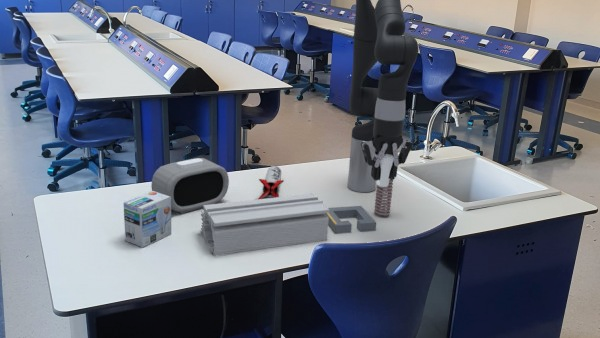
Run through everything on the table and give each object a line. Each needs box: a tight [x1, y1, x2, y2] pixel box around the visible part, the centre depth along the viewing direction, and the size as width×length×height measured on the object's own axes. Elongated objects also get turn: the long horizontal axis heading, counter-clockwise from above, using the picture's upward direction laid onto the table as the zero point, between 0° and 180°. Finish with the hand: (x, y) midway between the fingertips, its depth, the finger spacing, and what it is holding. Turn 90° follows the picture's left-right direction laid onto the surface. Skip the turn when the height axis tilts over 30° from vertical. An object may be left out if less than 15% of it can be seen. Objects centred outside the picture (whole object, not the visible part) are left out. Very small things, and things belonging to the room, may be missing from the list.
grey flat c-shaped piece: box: [324, 205, 377, 234], centre depth 171 cm, size 12×12×3 cm
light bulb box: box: [123, 190, 172, 248], centre depth 155 cm, size 11×7×11 cm, turn 148°
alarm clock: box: [150, 157, 230, 214], centre depth 176 cm, size 21×10×13 cm, turn 131°
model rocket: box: [258, 165, 285, 199], centre depth 193 cm, size 11×23×10 cm
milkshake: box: [376, 153, 394, 187], centre depth 157 cm, size 4×5×10 cm
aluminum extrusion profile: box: [200, 193, 329, 256], centre depth 159 cm, size 14×31×10 cm, turn 112°
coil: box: [373, 179, 394, 216], centre depth 175 cm, size 5×5×18 cm
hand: (383, 178), depth 158 cm, fingers closed on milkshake, 4 cm apart
